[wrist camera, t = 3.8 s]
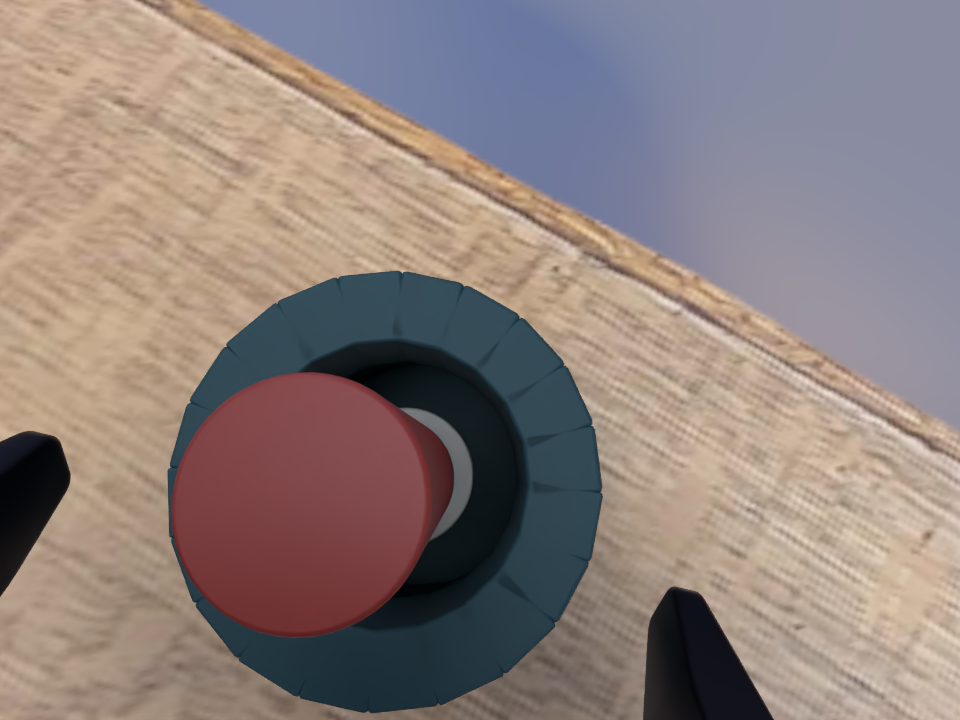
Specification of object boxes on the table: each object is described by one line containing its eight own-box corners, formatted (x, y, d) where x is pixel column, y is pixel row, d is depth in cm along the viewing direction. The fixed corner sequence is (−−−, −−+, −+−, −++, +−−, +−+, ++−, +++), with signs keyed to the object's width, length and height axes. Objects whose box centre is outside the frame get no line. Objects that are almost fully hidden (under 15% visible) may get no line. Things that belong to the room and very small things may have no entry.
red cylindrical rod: (488, 501, 19) (522, 605, 5) (391, 539, 18) (185, 740, 5) (452, 405, 19) (404, 287, 6) (357, 441, 19) (86, 402, 6)
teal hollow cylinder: (586, 427, 20) (676, 402, 11) (467, 643, 19) (462, 804, 10) (385, 311, 21) (317, 199, 12) (259, 515, 20) (80, 561, 11)
